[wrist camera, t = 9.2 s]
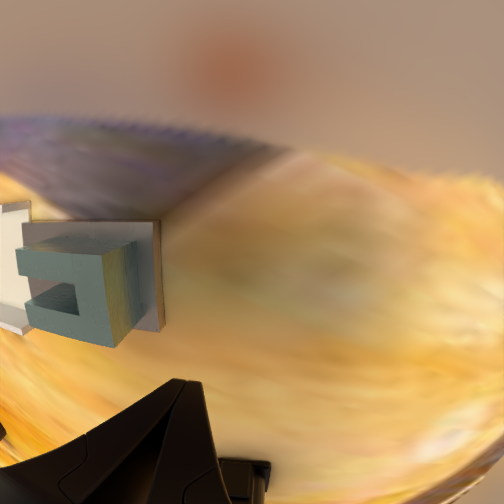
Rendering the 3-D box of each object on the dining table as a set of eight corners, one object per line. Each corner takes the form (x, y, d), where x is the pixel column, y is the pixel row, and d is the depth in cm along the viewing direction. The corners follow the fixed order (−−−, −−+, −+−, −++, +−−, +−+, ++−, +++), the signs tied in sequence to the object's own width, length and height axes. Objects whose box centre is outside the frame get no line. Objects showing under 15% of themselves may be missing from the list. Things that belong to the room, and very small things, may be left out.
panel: (165, 324, 18) (159, 332, 17) (41, 303, 19) (33, 308, 17) (159, 220, 17) (152, 222, 15) (31, 220, 17) (21, 223, 16)
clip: (142, 317, 17) (114, 348, 13) (62, 304, 17) (29, 326, 13) (136, 240, 16) (101, 255, 12) (53, 237, 16) (15, 249, 12)
